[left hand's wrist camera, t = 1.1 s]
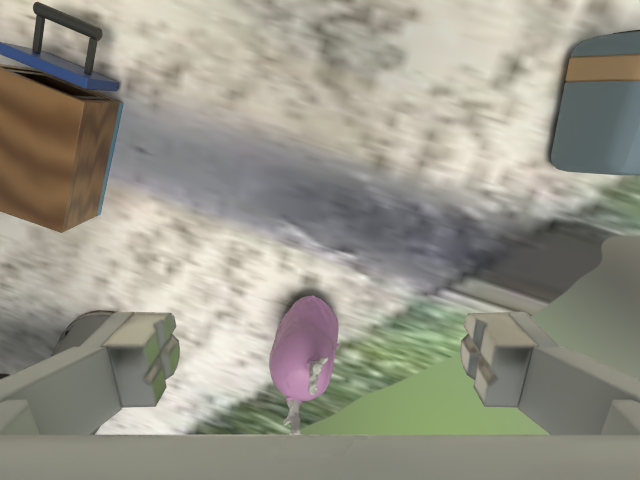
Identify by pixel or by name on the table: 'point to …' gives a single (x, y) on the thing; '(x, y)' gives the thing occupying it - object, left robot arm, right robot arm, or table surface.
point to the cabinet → (53, 151)
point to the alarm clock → (601, 108)
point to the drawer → (56, 64)
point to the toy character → (304, 354)
